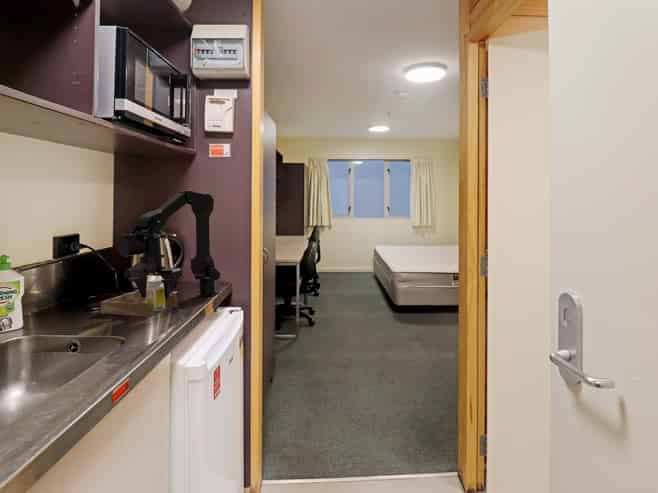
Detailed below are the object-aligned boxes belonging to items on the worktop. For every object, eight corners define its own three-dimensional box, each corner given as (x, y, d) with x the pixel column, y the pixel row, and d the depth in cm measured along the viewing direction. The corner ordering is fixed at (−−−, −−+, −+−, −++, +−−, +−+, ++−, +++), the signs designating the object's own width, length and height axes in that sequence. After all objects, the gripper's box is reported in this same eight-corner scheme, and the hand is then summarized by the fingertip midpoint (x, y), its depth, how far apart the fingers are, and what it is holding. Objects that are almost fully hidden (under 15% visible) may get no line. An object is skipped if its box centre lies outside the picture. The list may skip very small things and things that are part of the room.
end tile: (158, 306, 136) (158, 305, 136) (175, 306, 134) (175, 306, 134) (136, 314, 126) (136, 313, 126) (154, 315, 124) (154, 315, 124)
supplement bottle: (167, 307, 134) (165, 278, 132) (163, 311, 128) (161, 281, 127) (149, 308, 132) (147, 279, 131) (145, 312, 127) (143, 282, 126)
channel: (143, 299, 147) (142, 289, 147) (188, 301, 142) (187, 290, 141) (101, 313, 128) (100, 301, 128) (151, 316, 123) (150, 304, 123)
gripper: (109, 255, 123) (114, 302, 124) (159, 256, 118) (162, 305, 120) (135, 251, 133) (139, 294, 135) (181, 251, 129) (184, 296, 130)
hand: (155, 298), depth 130 cm, fingers open, 9 cm apart
